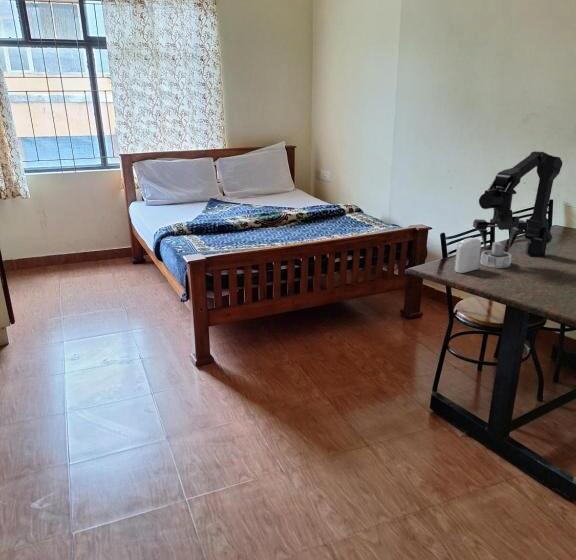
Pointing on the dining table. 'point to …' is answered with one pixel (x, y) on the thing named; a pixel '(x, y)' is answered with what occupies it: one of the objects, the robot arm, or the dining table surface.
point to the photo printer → (467, 255)
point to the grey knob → (496, 250)
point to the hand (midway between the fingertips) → (497, 246)
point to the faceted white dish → (495, 260)
